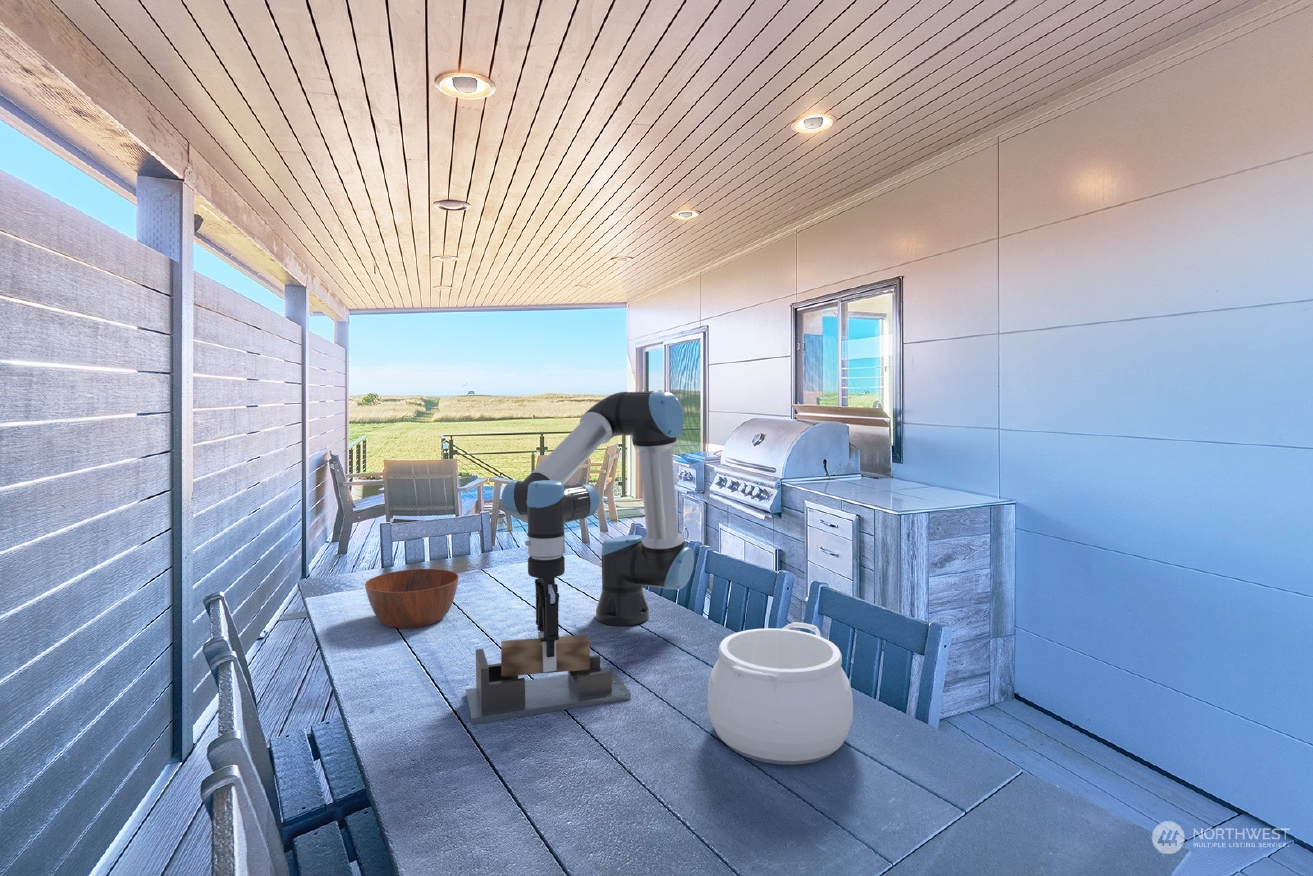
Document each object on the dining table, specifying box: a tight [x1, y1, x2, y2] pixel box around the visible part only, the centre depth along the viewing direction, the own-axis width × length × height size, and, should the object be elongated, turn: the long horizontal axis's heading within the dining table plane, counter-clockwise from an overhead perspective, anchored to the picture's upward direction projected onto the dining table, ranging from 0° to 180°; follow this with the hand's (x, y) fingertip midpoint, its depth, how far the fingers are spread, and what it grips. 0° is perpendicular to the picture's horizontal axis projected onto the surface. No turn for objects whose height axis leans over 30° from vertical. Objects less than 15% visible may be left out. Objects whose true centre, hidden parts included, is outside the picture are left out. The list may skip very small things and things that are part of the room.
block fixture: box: [465, 648, 632, 725], centre depth 142 cm, size 32×14×10 cm, turn 110°
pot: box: [706, 621, 854, 766], centre depth 125 cm, size 29×26×17 cm
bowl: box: [364, 568, 460, 629], centre depth 192 cm, size 25×25×11 cm
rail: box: [500, 634, 591, 677], centre depth 142 cm, size 18×4×6 cm, turn 103°
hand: (547, 666), depth 142 cm, fingers closed on rail, 4 cm apart
